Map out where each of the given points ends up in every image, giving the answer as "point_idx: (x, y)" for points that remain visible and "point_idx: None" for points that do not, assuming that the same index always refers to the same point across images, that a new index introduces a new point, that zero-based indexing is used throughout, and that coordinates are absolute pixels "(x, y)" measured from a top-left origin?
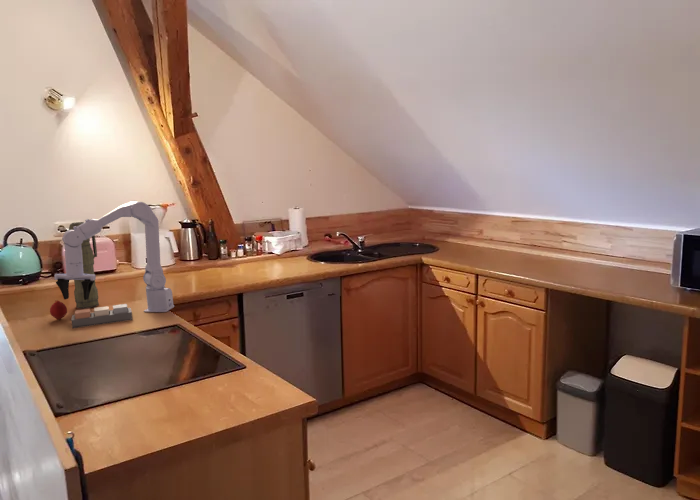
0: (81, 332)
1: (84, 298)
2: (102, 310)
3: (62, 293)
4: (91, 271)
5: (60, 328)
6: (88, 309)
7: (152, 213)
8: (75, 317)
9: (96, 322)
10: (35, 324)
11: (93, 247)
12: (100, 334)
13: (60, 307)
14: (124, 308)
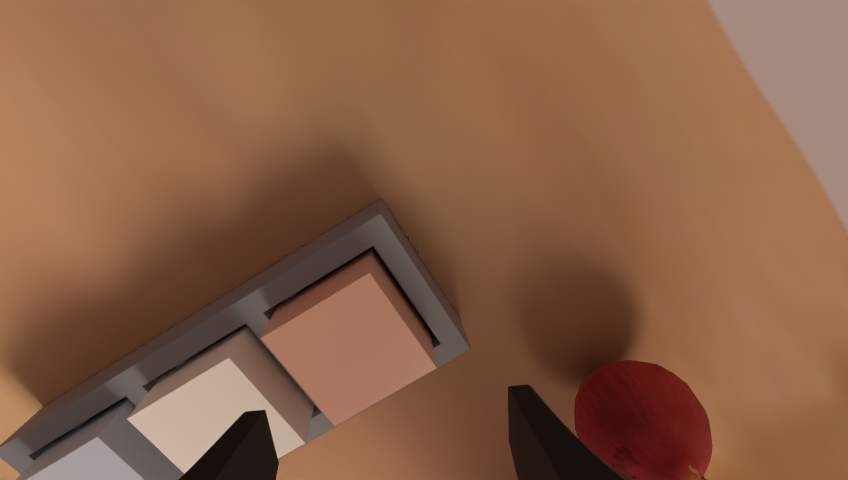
0: (227, 97)
1: (250, 418)
2: (173, 390)
3: (564, 432)
4: None
5: (477, 193)
6: (327, 400)
7: None
8: (369, 260)
9: (233, 293)
10: (720, 275)
11: None
12: (2, 43)
13: (619, 423)
14: (31, 472)
